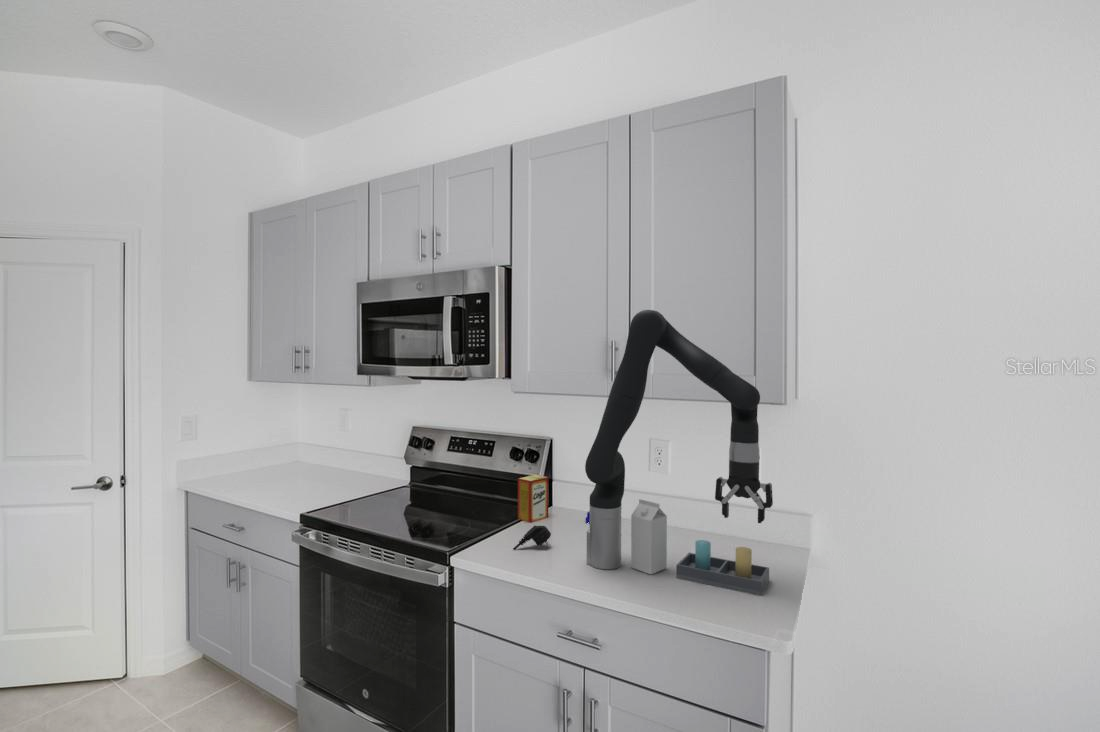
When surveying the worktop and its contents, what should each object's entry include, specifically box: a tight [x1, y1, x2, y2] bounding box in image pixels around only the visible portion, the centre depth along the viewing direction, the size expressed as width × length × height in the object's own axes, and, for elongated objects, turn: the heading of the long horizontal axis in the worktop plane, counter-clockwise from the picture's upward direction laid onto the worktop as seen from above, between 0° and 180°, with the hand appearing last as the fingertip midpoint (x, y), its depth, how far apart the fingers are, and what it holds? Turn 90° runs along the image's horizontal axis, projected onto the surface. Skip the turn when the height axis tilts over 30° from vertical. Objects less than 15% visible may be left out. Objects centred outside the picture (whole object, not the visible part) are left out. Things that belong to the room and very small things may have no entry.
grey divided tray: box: [675, 552, 770, 597], centre depth 147 cm, size 22×11×4 cm, turn 59°
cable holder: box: [585, 510, 590, 525], centre depth 197 cm, size 8×4×4 cm, turn 64°
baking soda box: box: [517, 474, 549, 524], centre depth 203 cm, size 10×6×16 cm
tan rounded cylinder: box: [734, 546, 753, 579], centre depth 144 cm, size 4×4×8 cm
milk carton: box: [630, 499, 668, 575], centre depth 155 cm, size 7×7×19 cm
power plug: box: [512, 525, 552, 551], centre depth 171 cm, size 6×8×12 cm
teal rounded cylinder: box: [694, 539, 712, 571], centre depth 150 cm, size 4×4×8 cm
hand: (743, 519), depth 145 cm, fingers open, 8 cm apart
